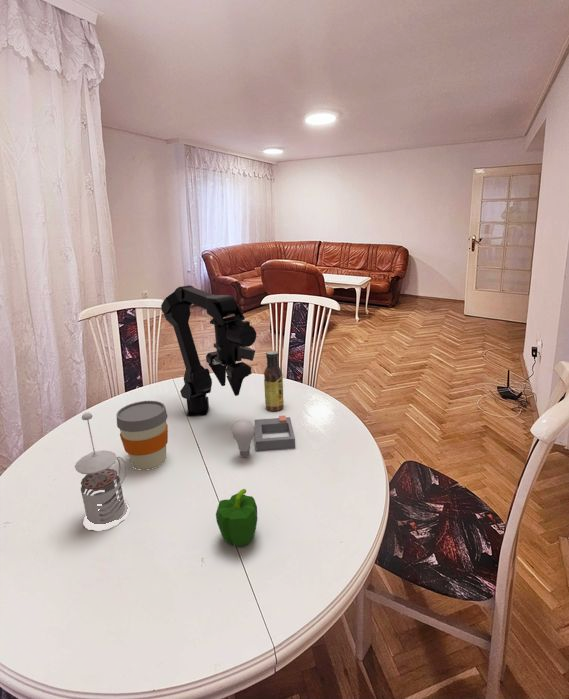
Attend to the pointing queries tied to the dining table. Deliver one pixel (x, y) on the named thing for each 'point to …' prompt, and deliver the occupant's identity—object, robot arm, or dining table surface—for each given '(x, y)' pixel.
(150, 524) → the dining table surface
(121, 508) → the french press
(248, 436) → the lightbulb
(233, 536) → the bell pepper
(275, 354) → the sauce bottle
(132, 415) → the reusable coffee cup
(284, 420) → the socket
